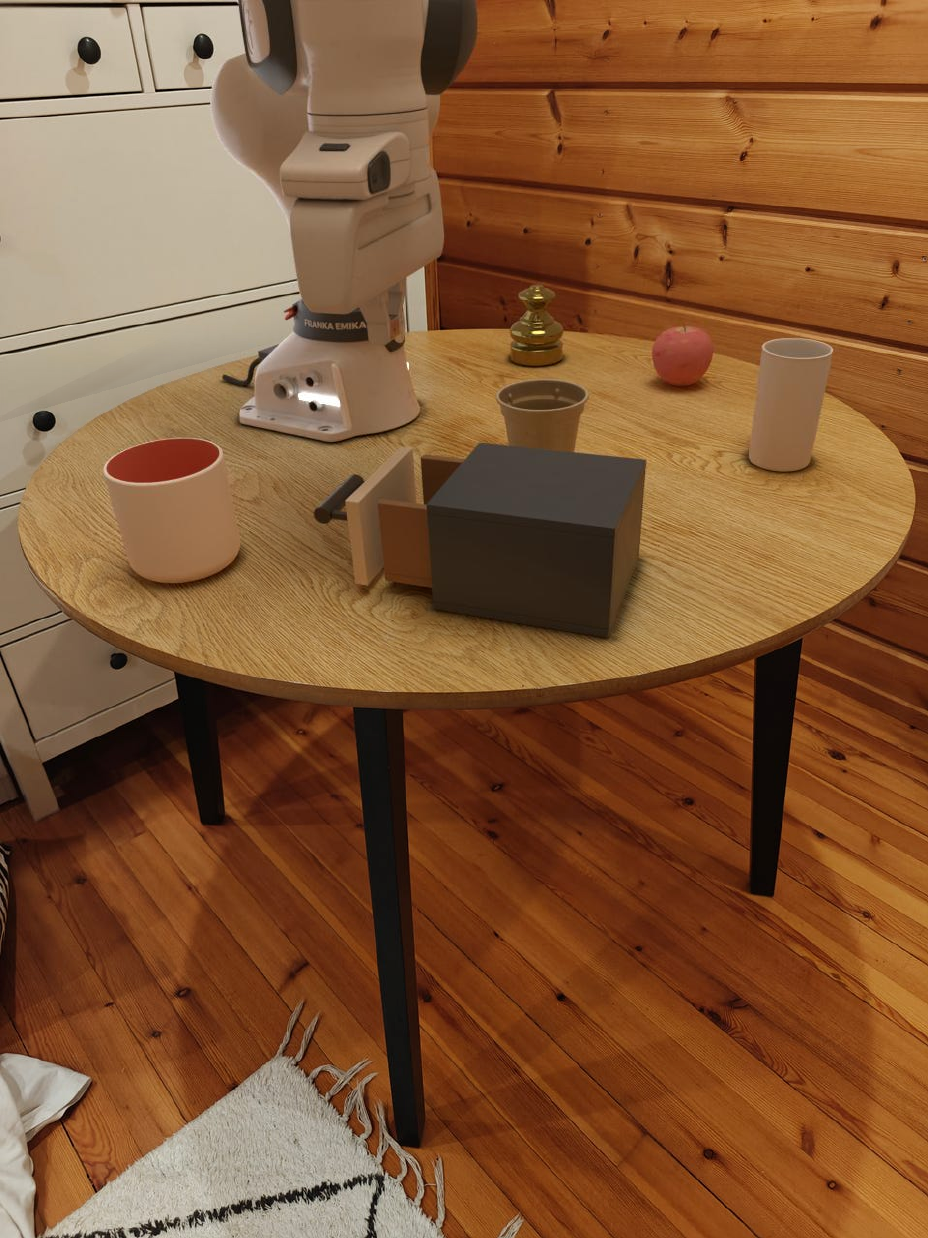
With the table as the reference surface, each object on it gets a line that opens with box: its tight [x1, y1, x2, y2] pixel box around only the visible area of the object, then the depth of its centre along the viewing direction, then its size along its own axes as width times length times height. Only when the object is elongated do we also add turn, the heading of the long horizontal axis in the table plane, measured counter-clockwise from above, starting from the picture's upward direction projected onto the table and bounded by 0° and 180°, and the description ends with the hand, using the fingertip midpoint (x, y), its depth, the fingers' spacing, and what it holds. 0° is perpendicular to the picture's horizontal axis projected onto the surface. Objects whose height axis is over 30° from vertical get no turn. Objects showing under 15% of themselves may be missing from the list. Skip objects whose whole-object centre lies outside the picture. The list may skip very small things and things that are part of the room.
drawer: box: [313, 446, 466, 589], centre depth 77 cm, size 18×11×8 cm, turn 70°
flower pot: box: [495, 378, 590, 452], centre depth 93 cm, size 9×9×9 cm
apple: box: [651, 321, 714, 387], centre depth 115 cm, size 7×7×8 cm
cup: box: [102, 437, 241, 584], centre depth 80 cm, size 10×10×10 cm
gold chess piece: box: [509, 284, 564, 367], centre depth 125 cm, size 7×7×10 cm
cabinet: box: [426, 442, 647, 639], centre depth 74 cm, size 15×13×10 cm
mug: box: [748, 337, 834, 473], centre depth 94 cm, size 10×7×12 cm, turn 3°
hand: (385, 339), depth 75 cm, fingers closed
